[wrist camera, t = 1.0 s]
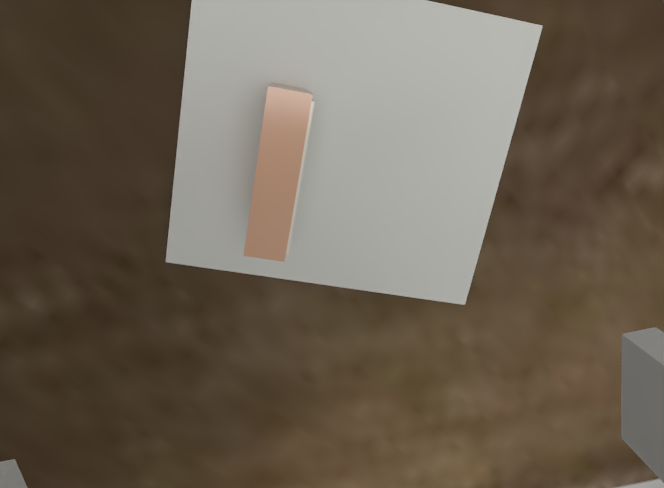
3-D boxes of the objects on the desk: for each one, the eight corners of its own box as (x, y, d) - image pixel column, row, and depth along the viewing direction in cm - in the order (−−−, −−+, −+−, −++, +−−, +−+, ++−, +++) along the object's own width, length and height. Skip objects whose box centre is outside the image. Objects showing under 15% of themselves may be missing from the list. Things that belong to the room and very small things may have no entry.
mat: (167, 258, 35) (165, 262, 34) (198, -48, 29) (196, -51, 29) (462, 301, 37) (464, 304, 37) (538, 26, 32) (542, 25, 31)
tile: (253, 214, 33) (243, 255, 26) (272, 82, 31) (268, 85, 24) (288, 219, 34) (289, 262, 26) (310, 89, 31) (318, 95, 24)
